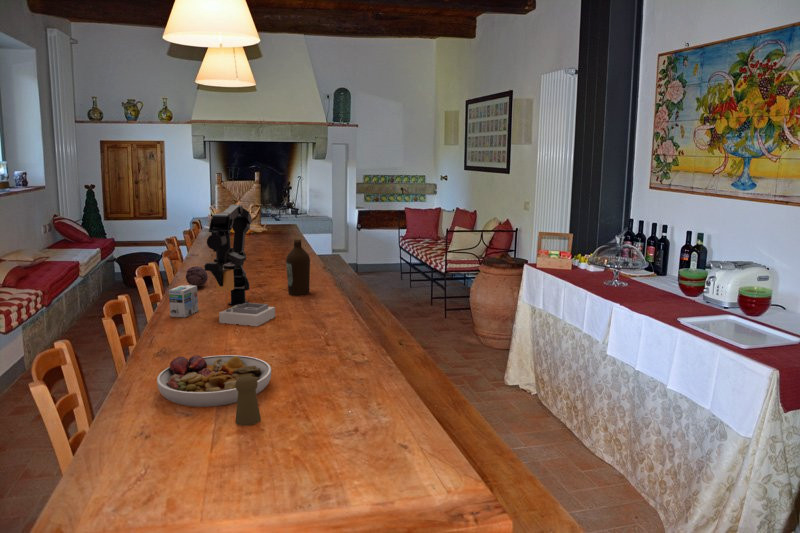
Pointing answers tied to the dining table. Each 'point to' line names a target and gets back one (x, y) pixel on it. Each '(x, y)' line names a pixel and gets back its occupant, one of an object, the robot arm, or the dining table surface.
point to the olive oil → (298, 270)
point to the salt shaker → (247, 401)
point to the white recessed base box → (247, 314)
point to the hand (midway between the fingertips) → (225, 285)
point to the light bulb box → (183, 301)
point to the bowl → (210, 379)
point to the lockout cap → (226, 281)
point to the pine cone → (196, 276)
